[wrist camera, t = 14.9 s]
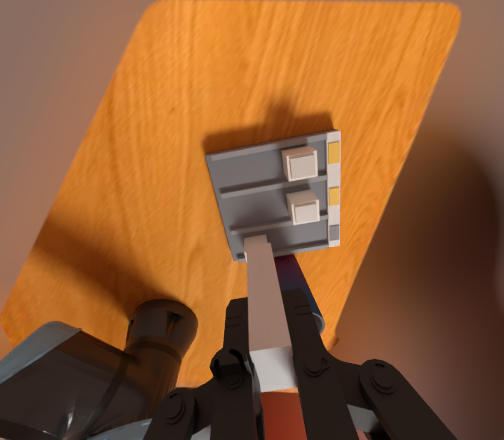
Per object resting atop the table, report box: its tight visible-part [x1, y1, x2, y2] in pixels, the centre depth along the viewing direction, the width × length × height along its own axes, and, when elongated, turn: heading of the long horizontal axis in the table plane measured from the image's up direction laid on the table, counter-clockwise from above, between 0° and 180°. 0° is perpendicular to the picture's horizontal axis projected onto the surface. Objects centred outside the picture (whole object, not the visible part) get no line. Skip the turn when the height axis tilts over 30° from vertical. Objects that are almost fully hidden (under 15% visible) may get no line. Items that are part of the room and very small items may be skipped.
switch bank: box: [205, 129, 341, 263], centre depth 37 cm, size 20×20×3 cm
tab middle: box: [286, 189, 320, 225], centre depth 34 cm, size 4×4×5 cm
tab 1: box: [244, 234, 267, 263], centre depth 38 cm, size 4×4×5 cm
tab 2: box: [281, 145, 318, 181], centre depth 31 cm, size 4×4×5 cm
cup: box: [274, 254, 325, 334], centre depth 38 cm, size 7×7×15 cm
